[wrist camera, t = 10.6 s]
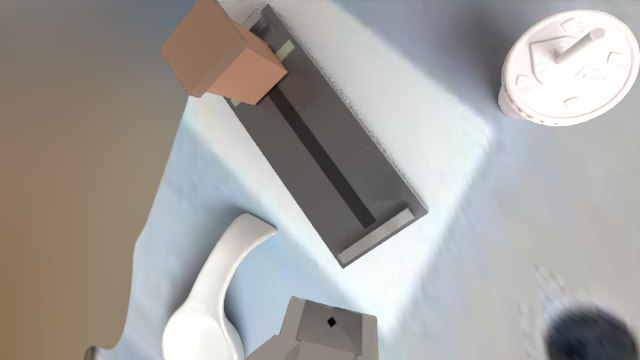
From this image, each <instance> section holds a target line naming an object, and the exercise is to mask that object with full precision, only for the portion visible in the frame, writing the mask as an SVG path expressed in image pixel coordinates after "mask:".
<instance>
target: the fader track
mask: <svg viewBox="0 0 640 360" xmlns="http://www.w3.org/2000/svg"><path fill="white" fill-rule="evenodd" d="M241 26H242V27H244V28H245V29H247V30H248V31H250V32H251V33H253V34H254V35H256V36H257V37H259V38H260V39H262V40H263V41H264V42H266V43H267V45H268V46H269V47H270V49H271V50H272V51H273V53H274V54H275V55H276V57H277V58H278V59H279V61H280V62H281V63H282V65H283V66H284V67H285V69H286V70H287V71H288V72H287V73H286V74H285V75H284V76H283V77H282V78H281V79H280V80H279V81H278V82H277V83H276V84H275V85H274V86H273V87H272V88H271V89H270V90H269V91H268V92H267V93H266V94H265V95H264V96H263V97H262V98H261V99H260V100H259V101H258V102H257V103H256V104H255V105H252V104H248V103H245V102H241V101H238V100H234V99H231V98H227V97H224V96H223V97H224V98H225V100H226V101H227V103H228V104H229V106H230V107H231V109H232V110H233V111H234V113H235V114H236V116H237V117H238V119H239V120H240V121H241V123H242V124H243V126H244V127H245V129H246V130H247V132H248V133H249V134H250V136H251V137H252V139H253V140H254V142H255V143H256V145H257V146H258V147H259V149H260V150H261V152H262V153H263V155H264V156H265V158H266V159H267V160H268V162H269V163H270V165H271V166H272V168H273V169H274V170H275V172H276V173H277V175H278V176H279V178H280V179H281V181H282V182H283V183H284V185H285V186H286V188H287V189H288V191H289V192H290V194H291V195H292V196H293V198H294V199H295V201H296V202H297V204H298V205H299V206H300V208H301V209H302V211H303V212H304V214H305V215H306V217H307V218H308V219H309V221H310V222H311V224H312V225H313V227H314V228H315V230H316V231H317V232H318V234H319V235H320V237H321V238H322V240H323V241H324V242H325V244H326V245H327V247H328V248H329V250H330V251H331V253H332V254H333V255H334V257H335V258H336V260H337V261H338V263H339V264H340V266H341V267H342V268H345V267H346V266H348V265H349V264H351V263H352V262H354V261H355V260H357V259H359V258H360V257H362V256H363V255H365V254H366V253H368V252H369V251H371V250H372V249H374V248H375V247H377V246H378V245H380V244H381V243H383V242H385V241H386V240H388V239H389V238H391V237H392V236H394V235H395V234H397V233H398V232H400V231H401V230H403V229H404V228H406V227H407V226H409V225H410V224H412V223H414V222H415V221H417V220H418V219H420V218H421V217H423V216H424V215H426V214H427V213H428V210H429V209H428V208H427V207H426V205H425V204H424V203H423V201H422V200H421V199H420V198H419V196H418V195H417V194H416V192H415V191H414V190H413V188H412V187H411V186H410V185H409V183H408V182H407V181H406V179H405V178H404V177H403V175H402V174H401V173H400V171H399V170H398V169H397V168H396V166H395V165H394V164H393V162H392V161H391V160H390V158H389V157H388V156H387V155H386V153H385V152H384V151H383V149H382V148H381V147H380V145H379V144H378V143H377V142H376V140H375V139H374V138H373V136H372V135H371V134H370V132H369V131H368V130H367V129H366V127H365V126H364V125H363V123H362V122H361V121H360V119H359V118H358V117H357V115H356V114H355V113H354V112H353V110H352V109H351V108H350V106H349V105H348V104H347V102H346V101H345V100H344V99H343V97H342V96H341V95H340V93H339V92H338V91H337V89H336V88H335V87H334V86H333V84H332V83H331V82H330V80H329V79H328V78H327V76H326V75H325V74H324V73H323V71H322V70H321V69H320V67H319V66H318V65H317V63H316V62H315V61H314V60H313V58H312V57H311V56H310V54H309V53H308V52H307V50H306V49H305V48H304V46H303V45H302V44H301V43H300V41H299V40H298V39H297V37H296V36H295V35H294V33H293V32H292V31H291V30H290V28H289V27H288V26H287V24H286V23H285V22H284V20H283V19H282V18H281V17H280V15H279V14H278V13H277V12H276V11H275V10H274V9H273V8H272V7H271V6H270V5H269V4H268V5H267V6H266V7H265V8H264V9H263V10H262V11H261V12H260V11H259V10H258V9H255V11H254V12H253V13H252V14H251V15H250V16H249V17H248V18H247V20H246V21H245V22H244V23H243V24H242V25H241Z"/></svg>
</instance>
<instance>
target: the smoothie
mask: <svg viewBox="0 0 640 360" xmlns="http://www.w3.org/2000/svg"><path fill="white" fill-rule="evenodd" d="M639 64H640V52H639V47H638V44H637V41H636V39H635V37H634V35H633V33H632V32H631V31H630V29H629V28H628V27H627V26H626V25H625V24H624V23H623V22H621V21H620V20H619V19H617V18H615V17H614V16H611V15H609V14H607V13H604V12H600V11H596V10H589V9H575V10H568V11H563V12H559V13H556V14H553V15H551V16H548V17H546V18H544V19H542V20H541V21H539V22H537V23H536V24H534V25H533V26H531V27H530V28H529V29H528V30H527V31H526V32H525V33H523V34H522V36H521V37H520V38H519V39H518V40H517V41H516V42H515V43H514V44H513V46H512V47H511V49H510V51H509V52H508V54H507V55H506V58H505V61H504V64H503V67H502V76H501V84H502V86H501V89H500V92H499V96H498V104H499V107H500V109H501V110H502V112H503V113H504V114H506V115H507V116H509V117H511V118H514V119H524V120H531V121H533V122H535V123H539V124H544V125H549V126H568V125H572V124H576V123H580V122H584V121H587V120H589V119H591V118H594V117H596V116H598V115H600V114H602V113H604V112H606V111H607V110H609V109H610V108H612V107H613V106H614V105H616V104H617V103H618V102H619V101H620V100H621V99H622V98H623V97H624V96H625V95H626V94H627V92H628V91H629V90H630V88H631V86H632V85H633V83H634V81H635V79H636V76H637V73H638V70H639Z"/></svg>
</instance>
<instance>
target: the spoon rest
mask: <svg viewBox="0 0 640 360" xmlns="http://www.w3.org/2000/svg"><path fill="white" fill-rule="evenodd" d="M277 232H278V230H277V229H276V228H274V227H273V226H271V225H269V224H267V223H265V222H264V221H262V220H260V219H258V218H256V217H254V216H252V215H250V214H248V213H244V214H242V215H240V216H239V217H237V218H236V219H235V220H234V221H233V222H232V223H231V224H230V225H229V227H228V228H227V229H226V231H225V232H224V233H223V235H222V236H221V238H220V239H219V241H218V242H217V244H216V245H215V247H214V248H213V250H212V252H211V253H210V255H209V257H208V259H207V260H206V262H205V264H204V266H203V267H202V269H201V271H200V273H199V275H198V277H197V279H196V281H195V283H194V285H193V287H192V290H191V292H190V294H189V296H188V298H187V299H186V301H185V302H184V303H183V304H182V305H181V306H180V307H179V308H178V309H177V310H176V311H175V312H174V313H173V314H172V316H171V317H170V318H169V320H168V322H167V324H166V325H165V328H164V331H163V336H162V353H163V358H164V360H244V359H245V356H244V349H243V345H242V342H241V339H240V336H239V334H238V332H237V330H236V329H235V327H234V326H233V325H232V324H231V323H230V321H229V320H227V319H226V317H225V313H224V299H225V294H226V291H227V288H228V286H229V283H230V281H231V279H232V277H233V275H234V273H235V271H236V269H237V267H238V266H239V264H240V263H241V261H242V260H243V259H244V258H245V256H246V255H247V254H248V253H249V252H250V251H251V250H252V249H253V248H255V247H256V246H257V245H259V244H260V243H262V242H263V241H265V240H267V239H269V238H271V237H272V236H274V235H276V234H277Z"/></svg>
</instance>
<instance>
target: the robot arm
mask: <svg viewBox="0 0 640 360" xmlns="http://www.w3.org/2000/svg"><path fill="white" fill-rule="evenodd" d="M305 301H306V302H305ZM244 360H379V358H378V331H377V318H376V316H372V315H368V314H364V313H359V312H355V311H351V310H346V309H342V308H338V307H332V306H328V305H325V304H321V303H317V302H313V301H310V300H305V299H301V298H297V297H294V296H292V297H291V299H290V301H289V305H288V308H287V311H286V314H285V318H284V321H283V324H282V328H281V331H280V334H279V335H274V336H272V337H271V338H270V339H269V340H267V341H266V342H265V343H264V344H262V345H261V346H260V347H259V348H257V349H256V350H255V351H254V352H252V353H251V354H250V355H249V356H247V357H246V358H245V359H244Z"/></svg>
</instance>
